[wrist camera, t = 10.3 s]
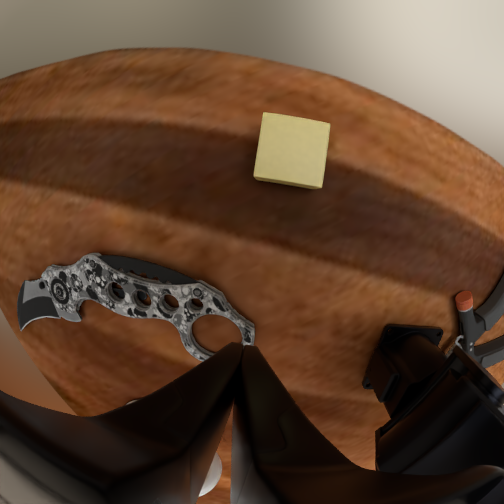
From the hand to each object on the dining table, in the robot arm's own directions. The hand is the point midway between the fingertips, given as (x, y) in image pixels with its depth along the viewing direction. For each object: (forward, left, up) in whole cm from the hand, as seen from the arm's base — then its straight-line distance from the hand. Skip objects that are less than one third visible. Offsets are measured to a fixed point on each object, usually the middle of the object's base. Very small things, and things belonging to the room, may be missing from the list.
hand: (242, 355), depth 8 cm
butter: (-1, -8, -11) cm, 14 cm away
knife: (+14, +6, -11) cm, 19 cm away
